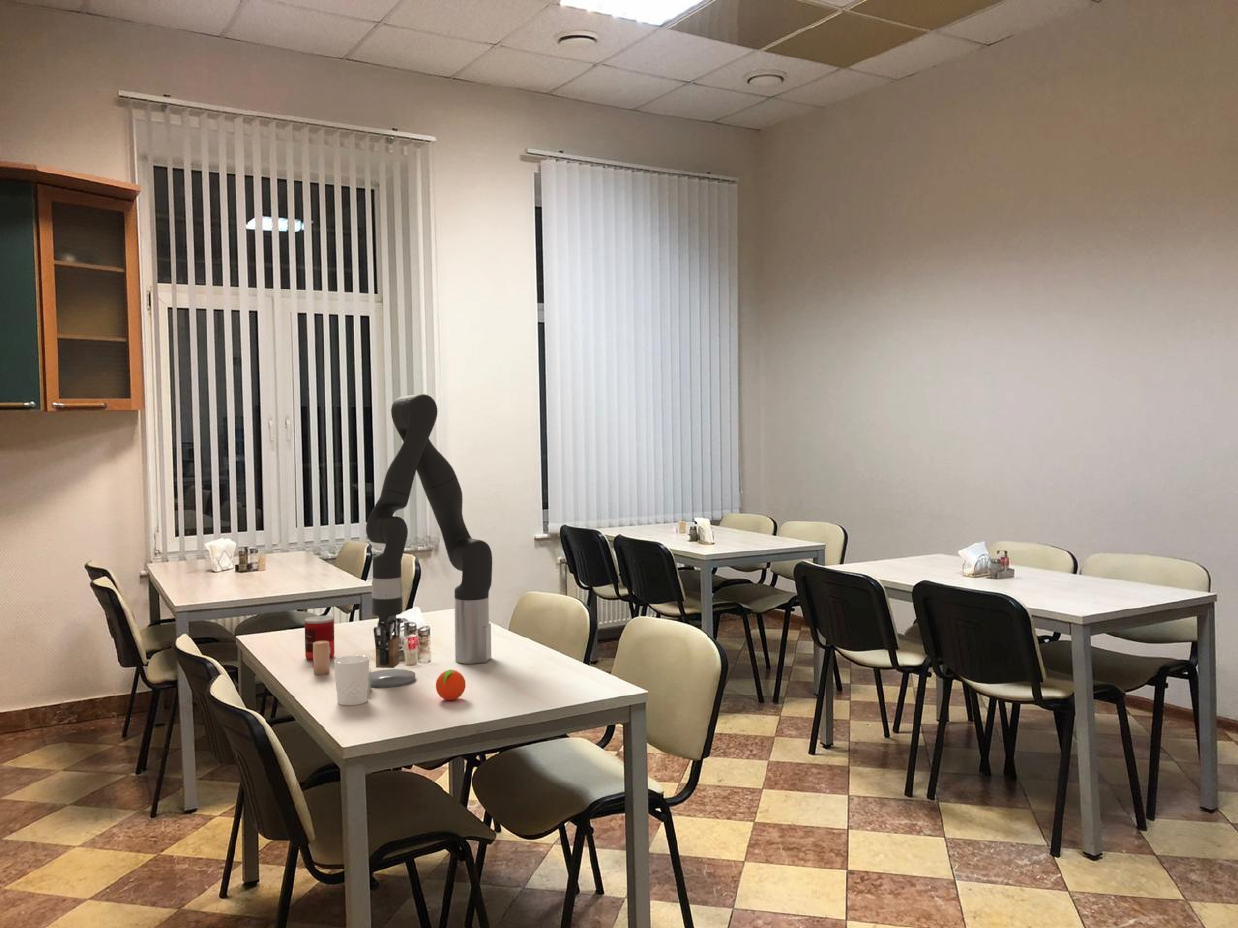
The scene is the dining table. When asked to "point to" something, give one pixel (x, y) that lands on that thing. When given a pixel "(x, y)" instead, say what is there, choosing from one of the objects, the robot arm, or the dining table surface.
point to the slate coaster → (391, 678)
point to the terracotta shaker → (321, 657)
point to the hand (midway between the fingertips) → (387, 662)
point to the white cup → (352, 679)
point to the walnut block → (390, 654)
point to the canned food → (319, 634)
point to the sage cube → (369, 681)
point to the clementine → (450, 685)
